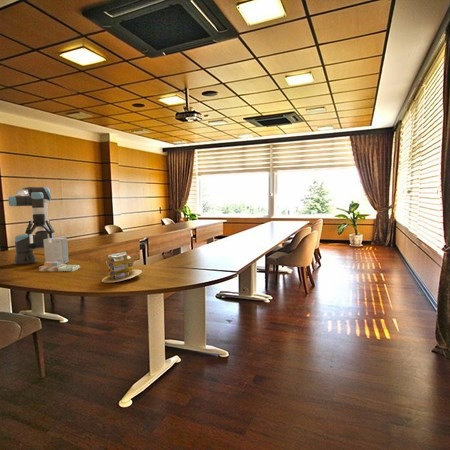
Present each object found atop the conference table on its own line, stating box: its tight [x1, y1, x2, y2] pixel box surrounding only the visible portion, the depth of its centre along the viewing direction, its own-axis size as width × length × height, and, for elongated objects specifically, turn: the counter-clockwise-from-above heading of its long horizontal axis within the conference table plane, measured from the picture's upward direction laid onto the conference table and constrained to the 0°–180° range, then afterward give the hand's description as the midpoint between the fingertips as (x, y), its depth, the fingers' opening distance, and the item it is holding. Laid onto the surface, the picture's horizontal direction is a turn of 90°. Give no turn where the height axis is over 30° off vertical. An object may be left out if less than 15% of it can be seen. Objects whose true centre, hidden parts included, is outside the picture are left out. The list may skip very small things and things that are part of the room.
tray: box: [57, 264, 81, 273], centre depth 222 cm, size 11×10×2 cm
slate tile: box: [51, 261, 61, 266], centre depth 223 cm, size 4×4×2 cm
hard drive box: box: [43, 237, 70, 264], centre depth 242 cm, size 16×8×20 cm, turn 84°
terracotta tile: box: [43, 261, 54, 266], centre depth 223 cm, size 4×4×2 cm
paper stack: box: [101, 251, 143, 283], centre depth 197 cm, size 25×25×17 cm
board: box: [38, 263, 67, 272], centre depth 223 cm, size 14×10×3 cm
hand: (40, 243), depth 223 cm, fingers open, 13 cm apart
